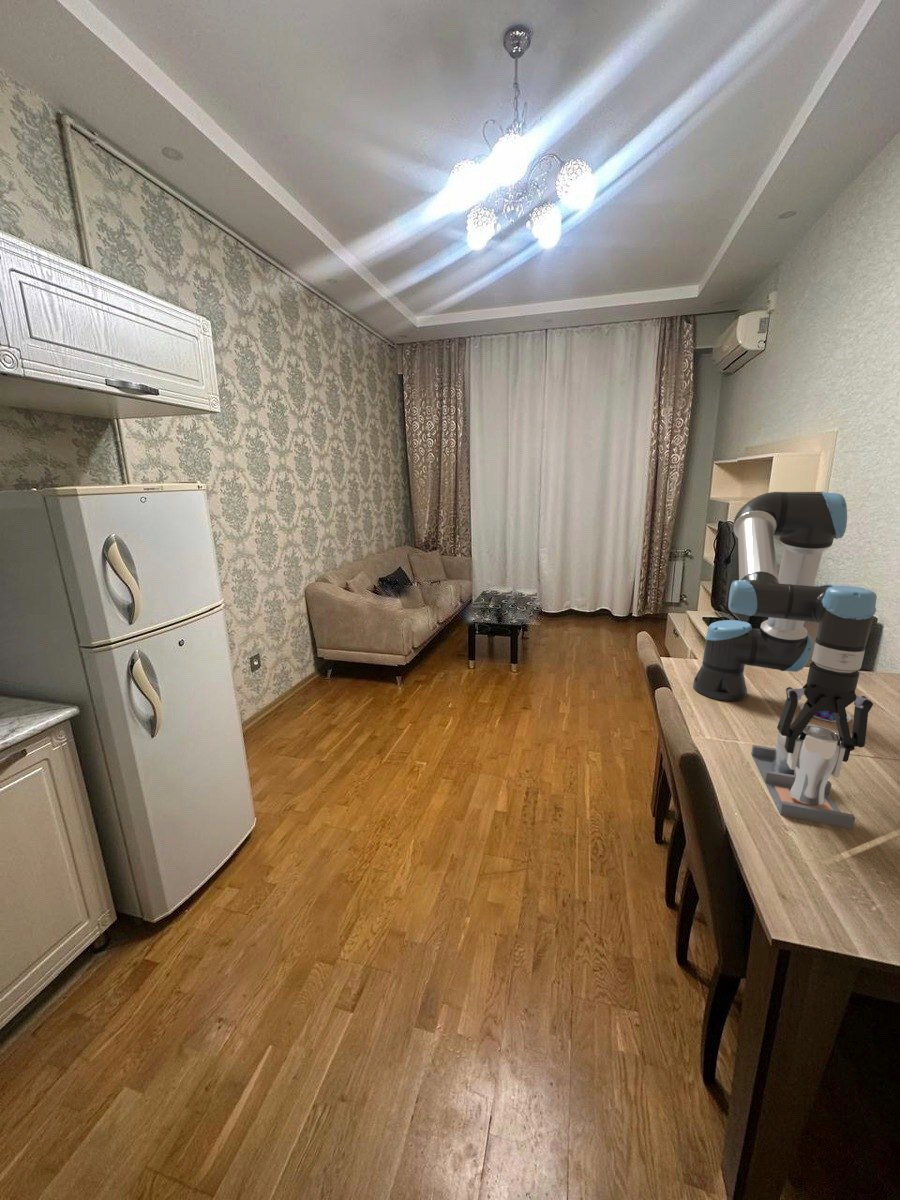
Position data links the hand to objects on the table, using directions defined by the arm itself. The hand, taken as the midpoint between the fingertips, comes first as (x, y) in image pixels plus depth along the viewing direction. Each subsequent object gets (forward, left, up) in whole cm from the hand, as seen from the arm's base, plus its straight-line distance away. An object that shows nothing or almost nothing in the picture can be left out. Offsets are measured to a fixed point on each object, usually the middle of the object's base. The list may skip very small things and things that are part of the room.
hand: (811, 769), depth 96 cm
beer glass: (0, 0, -7) cm, 7 cm away
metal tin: (-8, +7, -8) cm, 13 cm away
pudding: (-25, +47, -9) cm, 55 cm away
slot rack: (-4, +3, -9) cm, 10 cm away
